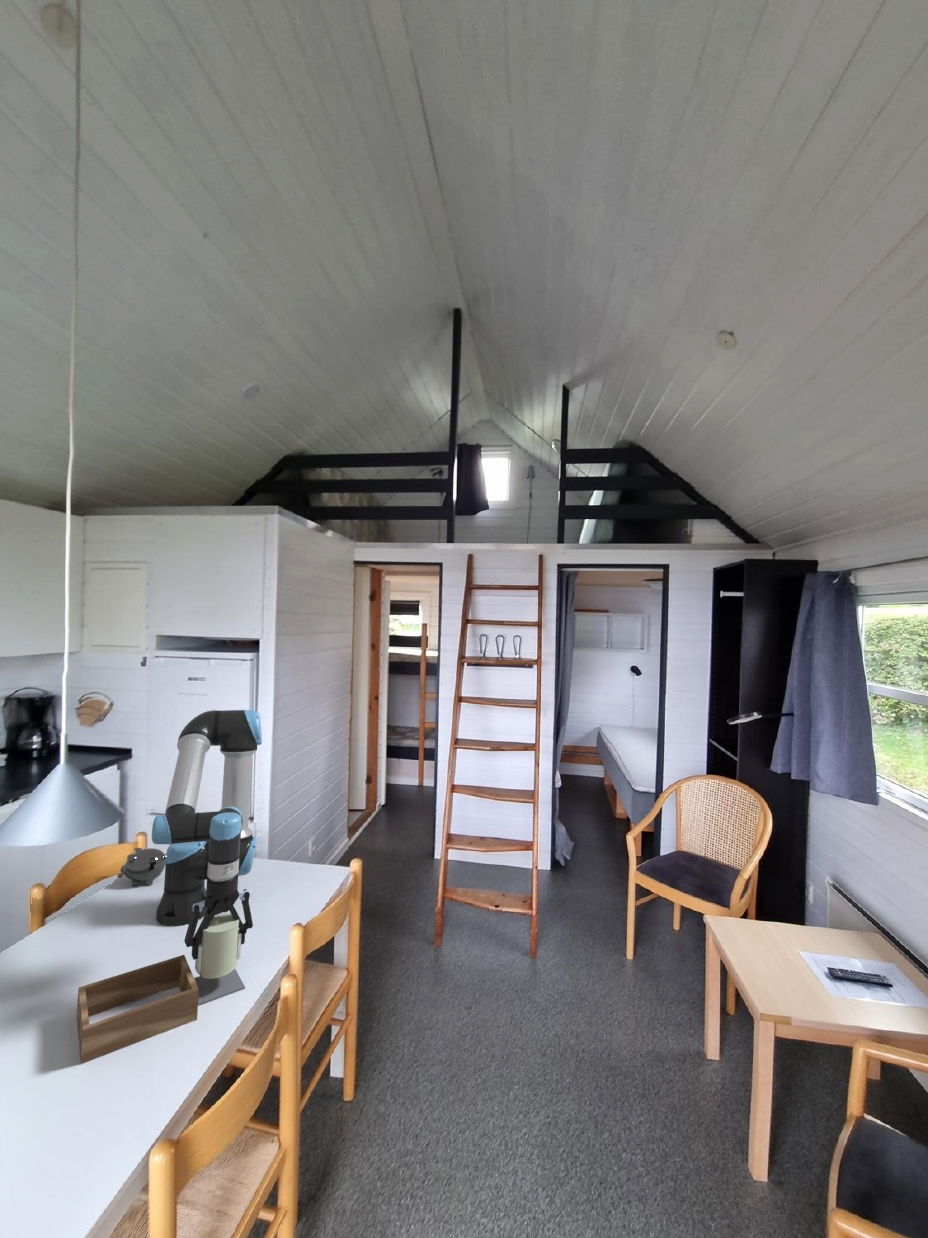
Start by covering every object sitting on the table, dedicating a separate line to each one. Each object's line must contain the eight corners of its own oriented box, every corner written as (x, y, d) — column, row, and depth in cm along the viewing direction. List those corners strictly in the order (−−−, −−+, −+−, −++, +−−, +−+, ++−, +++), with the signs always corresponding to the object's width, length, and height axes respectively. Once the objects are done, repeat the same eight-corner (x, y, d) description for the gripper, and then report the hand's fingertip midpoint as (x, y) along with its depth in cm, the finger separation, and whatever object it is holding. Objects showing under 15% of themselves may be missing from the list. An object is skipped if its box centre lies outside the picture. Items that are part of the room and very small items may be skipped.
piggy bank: (126, 876, 193) (128, 844, 193) (171, 873, 197) (173, 842, 197) (114, 891, 182) (116, 857, 182) (162, 888, 186) (164, 855, 186)
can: (229, 952, 144) (231, 907, 144) (242, 968, 137) (245, 921, 138) (192, 966, 137) (195, 919, 138) (205, 984, 131) (208, 934, 131)
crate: (76, 1017, 124) (78, 987, 124) (182, 981, 138) (184, 954, 138) (80, 1064, 111) (82, 1030, 111) (197, 1019, 125) (198, 989, 125)
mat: (188, 981, 138) (188, 980, 138) (232, 966, 145) (233, 965, 145) (198, 1005, 130) (198, 1004, 130) (244, 988, 137) (245, 987, 137)
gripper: (179, 892, 129) (174, 987, 128) (269, 871, 142) (264, 956, 141) (173, 880, 134) (168, 971, 134) (260, 861, 148) (255, 943, 147)
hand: (217, 963), depth 137 cm, fingers closed on can, 9 cm apart
